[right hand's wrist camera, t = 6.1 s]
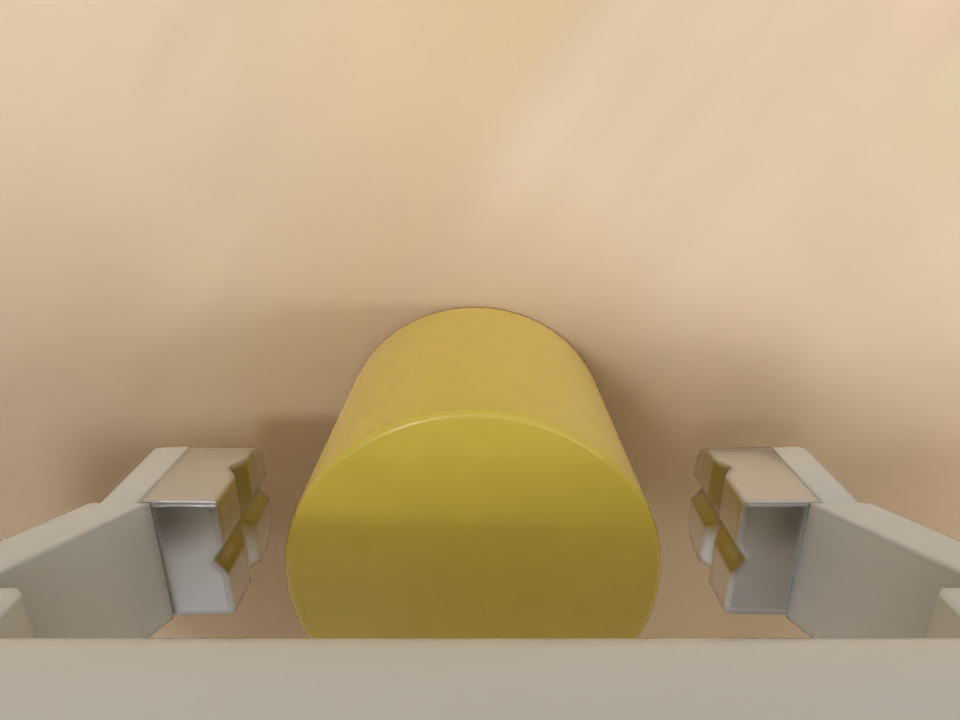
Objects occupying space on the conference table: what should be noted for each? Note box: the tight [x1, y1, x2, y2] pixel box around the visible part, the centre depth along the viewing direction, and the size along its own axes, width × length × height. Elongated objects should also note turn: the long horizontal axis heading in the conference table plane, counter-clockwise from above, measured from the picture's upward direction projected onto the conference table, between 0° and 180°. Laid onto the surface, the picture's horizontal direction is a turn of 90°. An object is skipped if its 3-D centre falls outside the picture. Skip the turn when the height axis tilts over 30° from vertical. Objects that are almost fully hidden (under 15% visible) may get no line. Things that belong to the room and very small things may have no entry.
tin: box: [285, 308, 661, 638], centre depth 10 cm, size 5×5×4 cm
